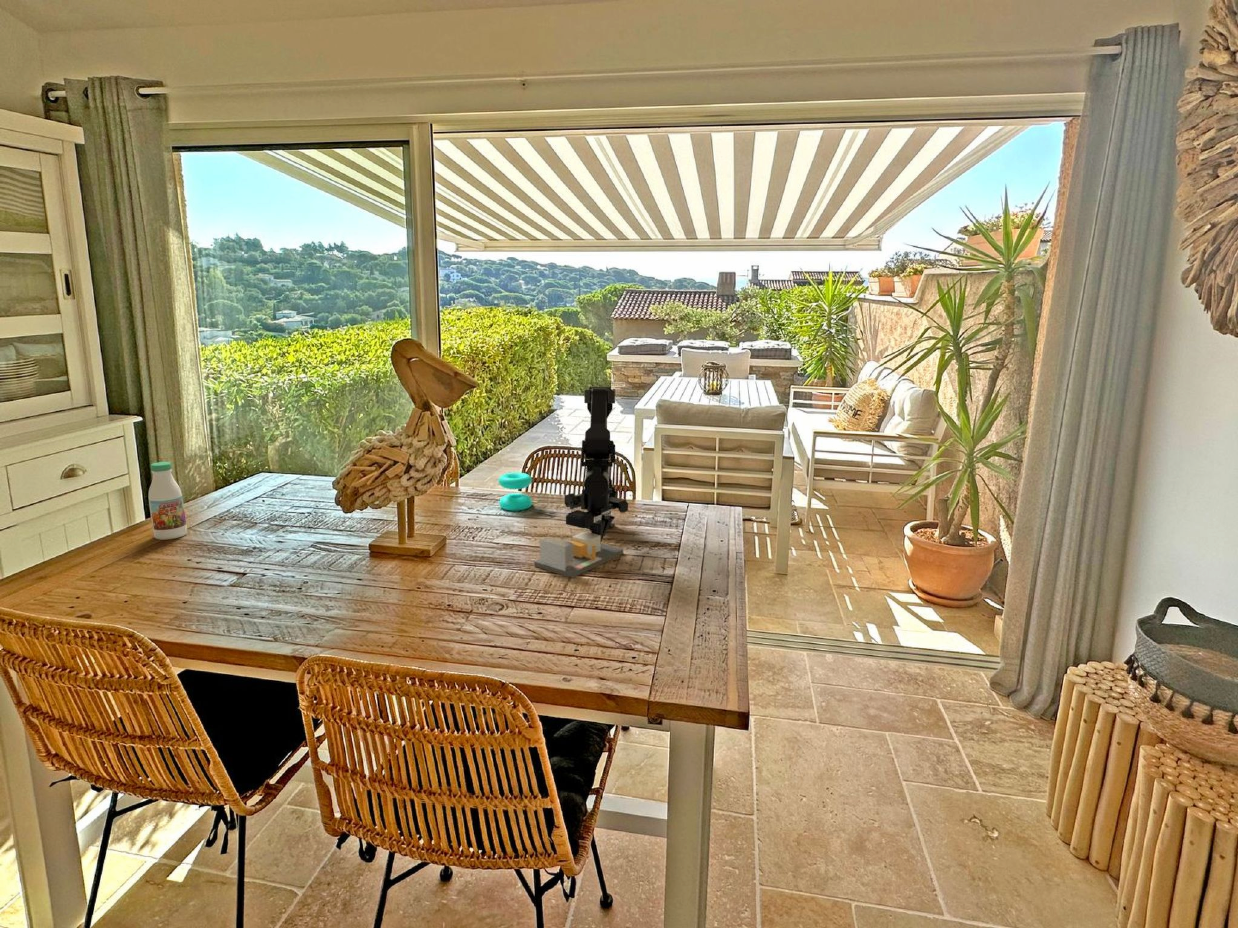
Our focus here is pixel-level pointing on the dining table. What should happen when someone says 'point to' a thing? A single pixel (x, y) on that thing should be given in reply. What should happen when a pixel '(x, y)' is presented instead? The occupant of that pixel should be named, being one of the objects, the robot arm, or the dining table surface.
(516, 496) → the donuts
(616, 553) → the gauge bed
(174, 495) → the milk bottle
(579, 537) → the block
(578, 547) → the needle rider
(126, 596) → the dining table surface
